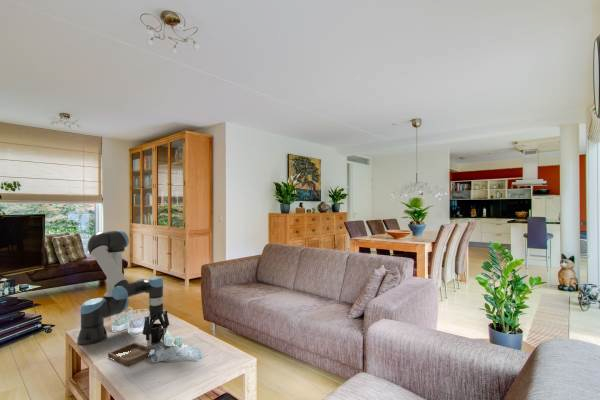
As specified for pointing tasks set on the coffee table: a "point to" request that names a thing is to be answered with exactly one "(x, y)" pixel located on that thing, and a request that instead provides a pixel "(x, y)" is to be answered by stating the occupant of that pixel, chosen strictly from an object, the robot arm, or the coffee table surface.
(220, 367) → the coffee table surface
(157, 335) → the mug
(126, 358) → the tray
